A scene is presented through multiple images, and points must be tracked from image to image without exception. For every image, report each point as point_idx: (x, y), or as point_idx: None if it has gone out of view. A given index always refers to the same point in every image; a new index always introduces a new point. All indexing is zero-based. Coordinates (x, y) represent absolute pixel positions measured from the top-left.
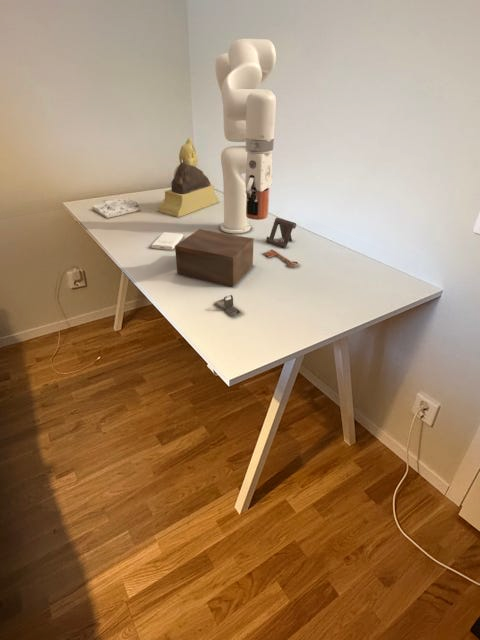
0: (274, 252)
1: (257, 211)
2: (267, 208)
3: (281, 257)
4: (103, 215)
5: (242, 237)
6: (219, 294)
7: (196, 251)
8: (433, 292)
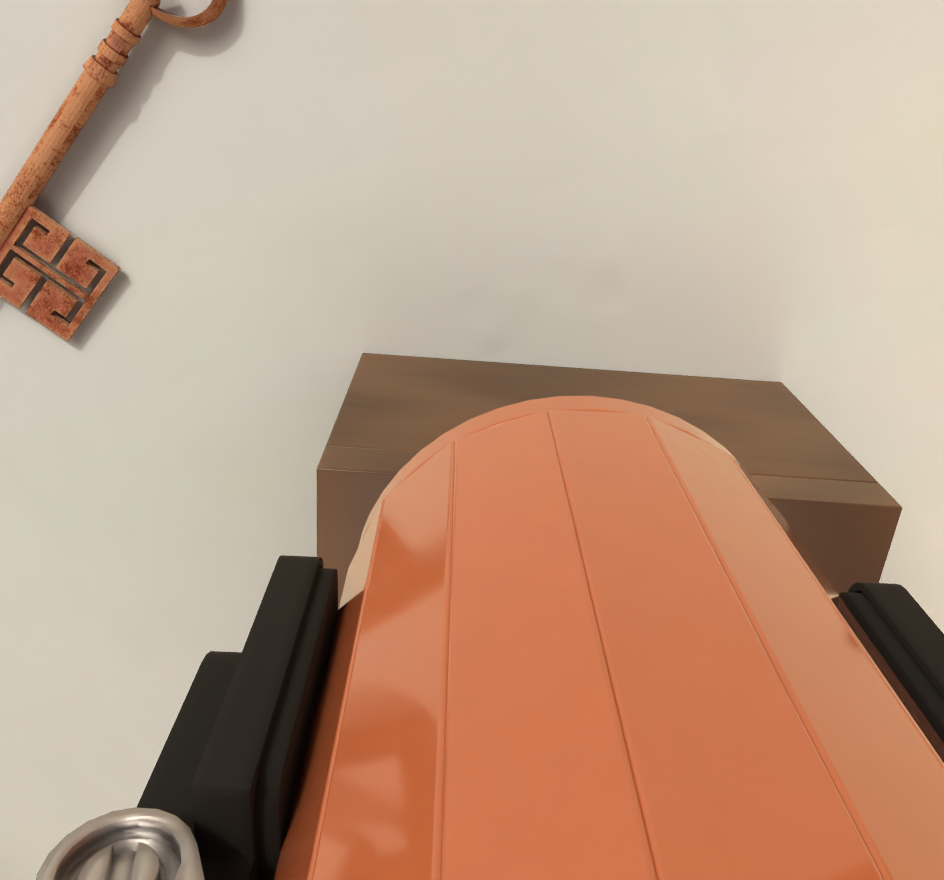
0: (4, 241)
1: (940, 631)
2: (633, 485)
3: (74, 138)
4: None
5: (344, 583)
6: (916, 436)
7: None
8: None
